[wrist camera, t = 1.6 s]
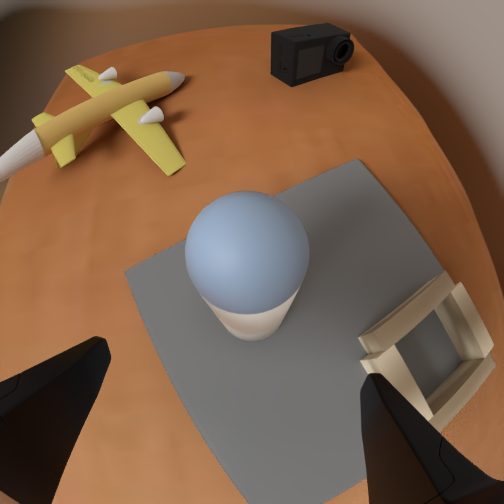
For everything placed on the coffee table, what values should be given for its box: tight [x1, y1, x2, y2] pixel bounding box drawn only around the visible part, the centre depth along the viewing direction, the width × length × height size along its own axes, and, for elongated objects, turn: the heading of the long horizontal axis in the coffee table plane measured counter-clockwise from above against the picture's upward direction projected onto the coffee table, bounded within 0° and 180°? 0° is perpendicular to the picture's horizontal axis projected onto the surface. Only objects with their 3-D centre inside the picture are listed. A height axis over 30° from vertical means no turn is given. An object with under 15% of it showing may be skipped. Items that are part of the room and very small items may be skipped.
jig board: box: [124, 158, 462, 504], centre depth 19 cm, size 23×23×1 cm
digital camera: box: [271, 23, 354, 87], centre depth 29 cm, size 10×5×7 cm, turn 126°
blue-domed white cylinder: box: [185, 191, 309, 341], centre depth 14 cm, size 4×4×12 cm
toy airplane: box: [0, 65, 186, 182], centre depth 25 cm, size 26×7×30 cm
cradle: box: [358, 271, 496, 432], centre depth 16 cm, size 9×9×3 cm
